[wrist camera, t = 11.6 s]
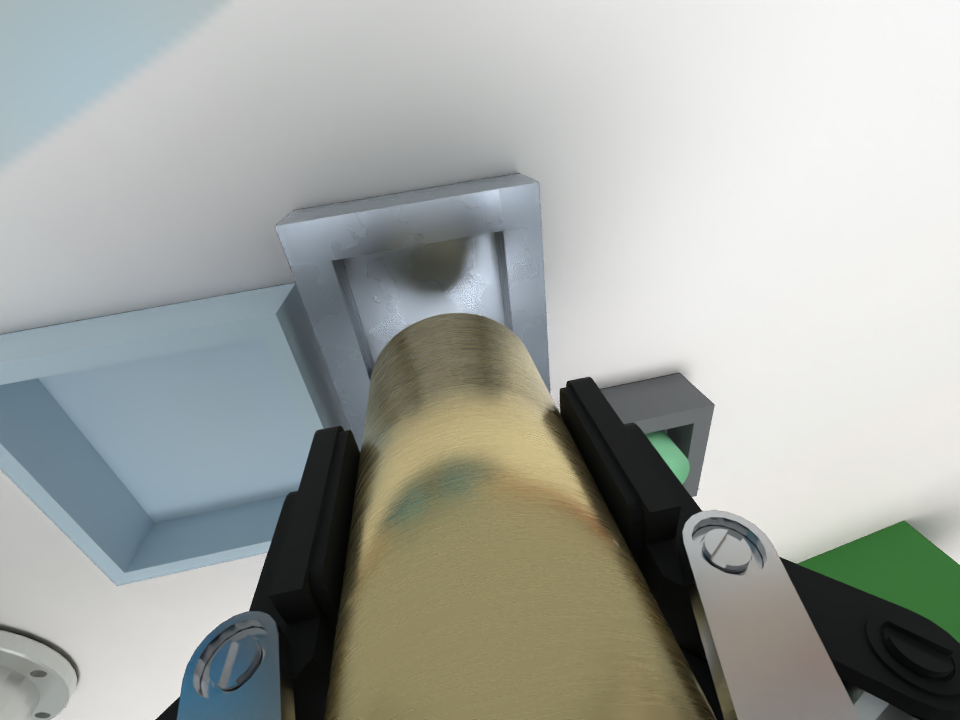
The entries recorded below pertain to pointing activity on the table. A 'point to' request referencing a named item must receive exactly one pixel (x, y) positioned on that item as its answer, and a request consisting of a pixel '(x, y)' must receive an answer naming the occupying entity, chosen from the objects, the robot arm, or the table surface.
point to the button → (670, 454)
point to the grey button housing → (668, 415)
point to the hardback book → (899, 573)
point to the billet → (489, 553)
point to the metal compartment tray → (417, 271)
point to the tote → (167, 427)
